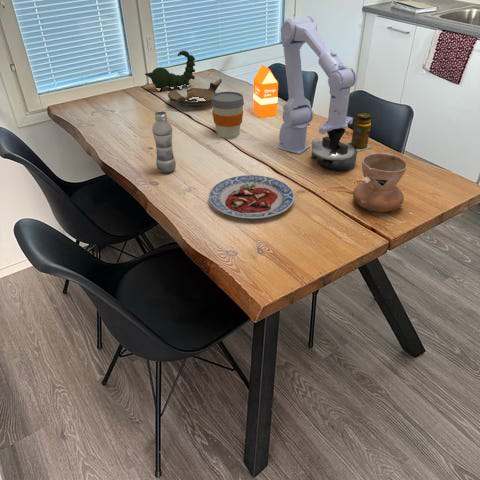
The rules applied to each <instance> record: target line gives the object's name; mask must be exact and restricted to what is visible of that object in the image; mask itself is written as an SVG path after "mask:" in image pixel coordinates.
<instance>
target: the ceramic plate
mask: <svg viewBox="0 0 480 480" xmlns="http://www.w3.org/2000/svg"><path fill="white" fill-rule="evenodd" d="M208 196H209V202H210V204H211V205H212V206H213V207H214V208H215V209H216V210H217V211H219V212H220V213H222V214H225V215H227V216H230V217H231V216H232V217H234V218H240V219H247V220H249V219H250V220H251V219H253V220H254V219H257V220H258V219H265V218H266V219H267V218H270V217H273V216H274V217H275V216H277V215H280V214H282V213H284V212H286V211H287V210H289V209H290V208H291V207H292V205H293V204H294V202H295V197H296V196H295V193H294V191H293V189H292V188H291V186H289V185H288V184H287V183H285V182H283V181H281V180H279V179H277V178H275V177H274V178H273V177H270V176H265V175H258V174H257V175H256V174H253V175H251V174H249V175H248V174H247V175H237V176H233V177H229V178H226V179H224V180H222V181H220V182H218V183H217V184H215V185H214V186H213V187H212V188H211V190H210V191H209V195H208Z"/></svg>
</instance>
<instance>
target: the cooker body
mask: <svg viewBox="0 0 480 480" xmlns="http://www.w3.org/2000/svg"><path fill="white" fill-rule="evenodd" d="M347 143H348V144H349V143H350V142H347ZM350 145H351V146H352V145H353V144H350ZM312 147H313V144H312V145H311V148H312ZM310 155H311V156H310V158H311V159H313V160H317V165H318V166H319V167H320V168H321V169H323V170H325V171H329V172H334V173H335V172H336V173H345V172H349V171H352V170H353V169H355V167H356V162H357V157H358V156H357V155H358V151H357V150H356V148H354V155H353V156H352V157H351V158H349V159H346V160H341V161H332V160H326V159H322V158H319V157H317V156H316V155H314V154H313V152H312V151H311V154H310Z"/></svg>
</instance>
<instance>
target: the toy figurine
mask: <svg viewBox="0 0 480 480" xmlns="http://www.w3.org/2000/svg"><path fill="white" fill-rule="evenodd" d="M180 56H184V57H185V58H186V63H185V64H186V65H185V69H184V72H183V74H181V75H180V74H177V75H176V74H175V73H172V72H169V70H168V69H166V68H164V67H162V66H159V67H156V68H154V69H153V70H152V71H151V72H148V73H146V72H145V73H144V76H146V77H148V78H149V79H150V80H151V82H152V84H153V85H154V86H155V87H156V88H162V89H163V88H165V87H167V86H169V87H174V86H181V85H183V86H186V85H189V84H190V85H191V83H190V80H195V77H196V76H195V75H193V73H196V69H194V67H196V63H195V60H196V58H195V57H194V56H193V55H192V54H189V51H188V50H180V51H179V52H178V54H177V57H180ZM184 84H186V85H184ZM169 87H168V88H169ZM156 88H155V89H156Z"/></svg>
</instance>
